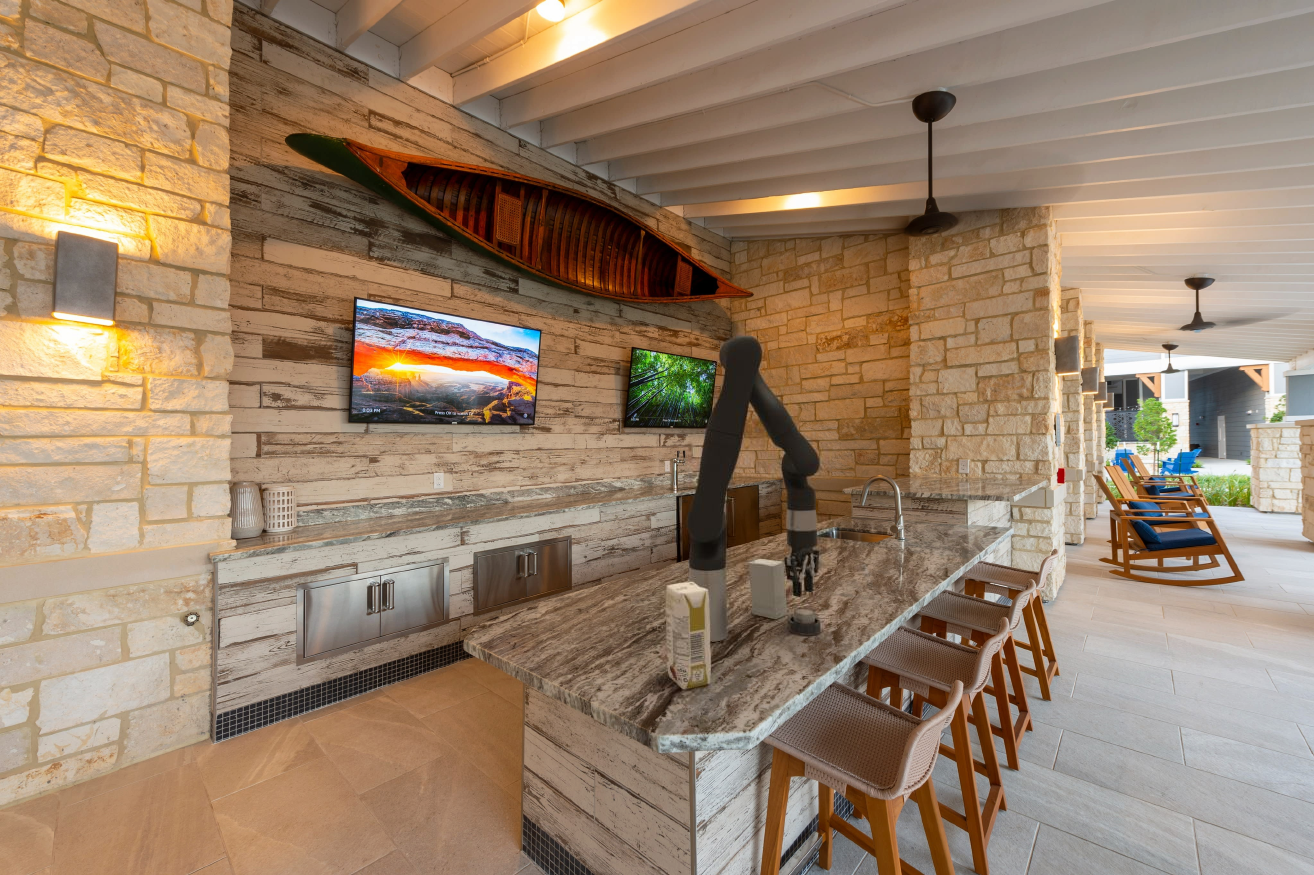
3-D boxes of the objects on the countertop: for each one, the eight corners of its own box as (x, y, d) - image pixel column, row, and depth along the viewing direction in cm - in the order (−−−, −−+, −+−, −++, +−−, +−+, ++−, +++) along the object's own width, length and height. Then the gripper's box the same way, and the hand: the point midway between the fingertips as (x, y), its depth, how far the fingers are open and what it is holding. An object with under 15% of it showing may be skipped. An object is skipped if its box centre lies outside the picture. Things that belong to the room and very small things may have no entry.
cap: (808, 633, 129) (808, 616, 129) (789, 628, 133) (789, 612, 133) (819, 627, 133) (818, 611, 133) (800, 622, 137) (800, 607, 137)
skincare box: (787, 615, 145) (786, 561, 145) (775, 620, 141) (773, 565, 141) (762, 608, 151) (760, 557, 151) (749, 614, 147) (748, 560, 147)
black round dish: (796, 637, 129) (795, 626, 129) (783, 626, 136) (783, 616, 136) (825, 634, 130) (825, 624, 130) (812, 624, 138) (811, 614, 138)
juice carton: (681, 693, 101) (679, 594, 102) (663, 675, 109) (661, 584, 109) (715, 685, 104) (713, 589, 105) (695, 668, 112) (693, 579, 112)
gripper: (800, 532, 126) (802, 603, 126) (828, 524, 136) (830, 590, 136) (773, 529, 131) (775, 597, 131) (802, 522, 141) (803, 585, 141)
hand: (803, 593), depth 133 cm, fingers open, 5 cm apart
